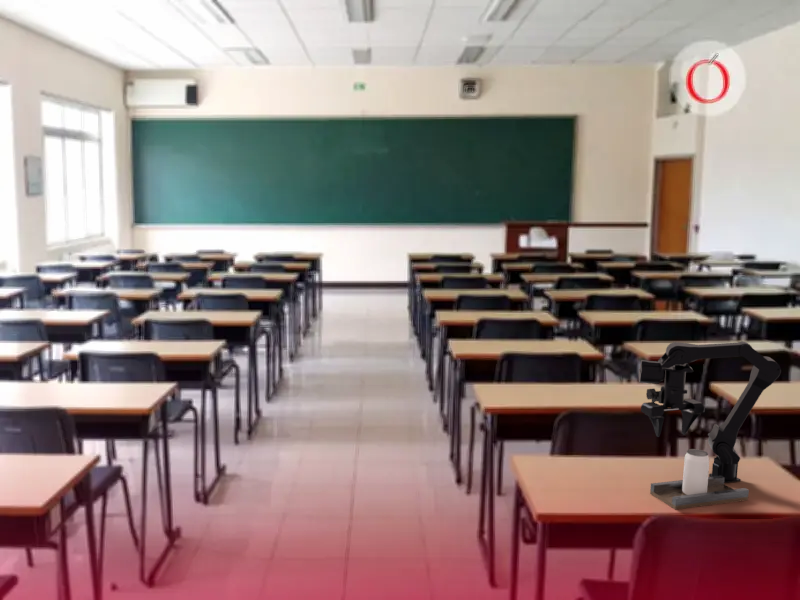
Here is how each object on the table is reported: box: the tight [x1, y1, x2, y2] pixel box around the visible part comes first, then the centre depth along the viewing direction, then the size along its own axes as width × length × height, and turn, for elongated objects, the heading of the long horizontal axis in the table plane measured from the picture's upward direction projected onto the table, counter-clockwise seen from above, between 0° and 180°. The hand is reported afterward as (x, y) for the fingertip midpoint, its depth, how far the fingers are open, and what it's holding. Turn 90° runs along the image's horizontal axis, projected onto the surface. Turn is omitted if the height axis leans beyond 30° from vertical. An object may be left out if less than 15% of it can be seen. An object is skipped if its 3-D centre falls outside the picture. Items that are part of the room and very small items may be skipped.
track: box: [649, 476, 750, 510], centre depth 210 cm, size 24×11×3 cm, turn 108°
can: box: [682, 448, 710, 495], centre depth 209 cm, size 6×6×12 cm
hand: (670, 435), depth 226 cm, fingers open, 9 cm apart
